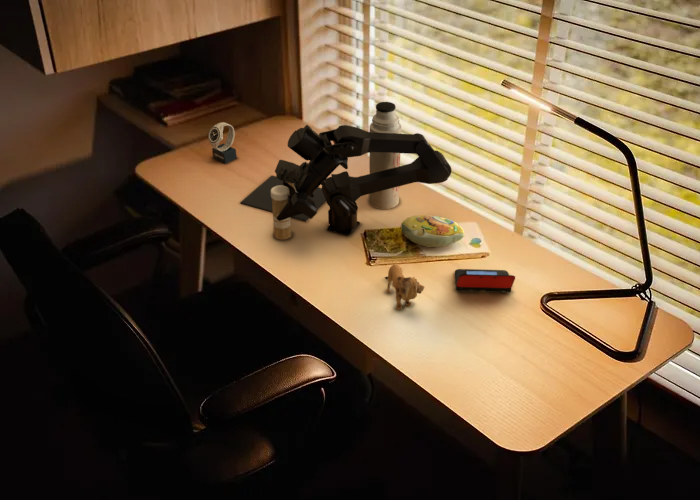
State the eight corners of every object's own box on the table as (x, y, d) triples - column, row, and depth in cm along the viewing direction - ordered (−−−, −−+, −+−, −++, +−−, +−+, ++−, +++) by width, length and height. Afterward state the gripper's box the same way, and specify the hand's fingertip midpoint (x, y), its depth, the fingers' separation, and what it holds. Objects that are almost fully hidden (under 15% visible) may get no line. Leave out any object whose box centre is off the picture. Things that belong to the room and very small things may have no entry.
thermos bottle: (404, 199, 213) (408, 103, 196) (387, 212, 207) (390, 114, 191) (380, 190, 217) (382, 95, 200) (363, 202, 211) (363, 106, 195)
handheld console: (507, 273, 185) (511, 247, 181) (512, 302, 177) (516, 276, 172) (453, 272, 186) (456, 246, 182) (456, 300, 177) (458, 274, 173)
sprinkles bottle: (276, 241, 197) (272, 195, 189) (272, 231, 200) (268, 186, 193) (294, 238, 198) (291, 192, 190) (289, 228, 201) (286, 183, 194)
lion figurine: (425, 313, 174) (427, 280, 169) (404, 320, 172) (405, 287, 167) (394, 276, 185) (395, 245, 179) (374, 282, 183) (374, 251, 178)
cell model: (405, 214, 202) (461, 203, 196) (413, 242, 204) (469, 232, 198) (393, 228, 193) (451, 217, 187) (402, 257, 195) (459, 247, 189)
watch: (207, 160, 231) (203, 126, 225) (228, 150, 236) (225, 117, 230) (220, 166, 228) (216, 132, 222) (241, 156, 233) (238, 122, 227)
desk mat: (334, 192, 216) (334, 191, 216) (305, 221, 204) (305, 220, 204) (271, 176, 223) (271, 175, 223) (240, 203, 212) (240, 202, 211)
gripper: (287, 133, 194) (246, 178, 198) (301, 170, 179) (256, 217, 183) (319, 158, 200) (279, 201, 204) (335, 195, 185) (291, 240, 189)
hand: (276, 213), depth 195 cm, fingers open, 5 cm apart
